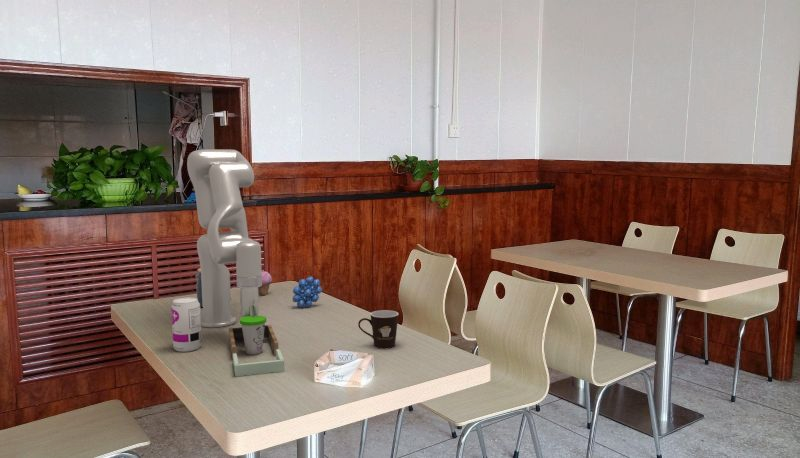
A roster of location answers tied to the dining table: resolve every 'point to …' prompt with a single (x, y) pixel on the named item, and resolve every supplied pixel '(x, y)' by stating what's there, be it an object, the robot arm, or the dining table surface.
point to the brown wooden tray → (238, 338)
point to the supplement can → (186, 324)
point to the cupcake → (264, 283)
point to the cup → (253, 332)
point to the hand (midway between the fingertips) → (251, 338)
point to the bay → (259, 366)
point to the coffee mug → (383, 328)
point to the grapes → (307, 292)
